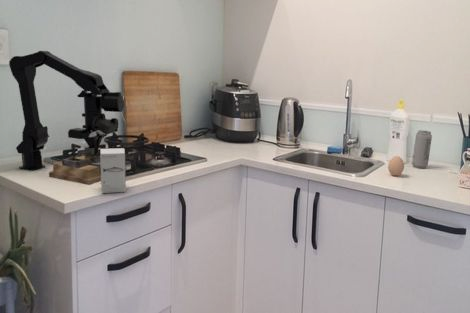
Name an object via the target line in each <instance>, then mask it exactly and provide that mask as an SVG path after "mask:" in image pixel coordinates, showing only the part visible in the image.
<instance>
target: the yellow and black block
mask: <svg viewBox="0 0 470 313" xmlns="http://www.w3.org/2000/svg"><path fill="white" fill-rule="evenodd" d="M83 150H84V154H85V155H84V156H81V157H80V156H77V158H74V161H80V160H84V159H89V163H92V162H93V157H95V150H94V148H93V147H89V146H86V147H85V146H84V149H83Z"/></svg>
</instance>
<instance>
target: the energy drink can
mask: <svg viewBox="0 0 470 313" xmlns="http://www.w3.org/2000/svg"><path fill="white" fill-rule="evenodd" d="M432 138H433V135H432V133H431V131H430V130H422V129H420V130H417V132H416V134H415V140H414V144H413V154H412V161H411V165H412V167H413V168H415V169H416V168H417V169H427V167H428V166H429V161H430V153H431V152H430V151H431V146H432Z"/></svg>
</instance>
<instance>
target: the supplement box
mask: <svg viewBox="0 0 470 313" xmlns="http://www.w3.org/2000/svg"><path fill="white" fill-rule="evenodd" d="M99 149H100V150H99V151H100V152H99V153H100V164H101V181H100V185H101V186H100V189H101V190H100V191H101V194H107V193H108V194H109V193H126V190H127V187H126V186H127V185H126V152H125V150H126V149H125V148H124V147H123V148H99Z"/></svg>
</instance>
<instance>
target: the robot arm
mask: <svg viewBox="0 0 470 313" xmlns="http://www.w3.org/2000/svg"><path fill="white" fill-rule="evenodd" d="M8 63H9V69H10V72H11V75H12V77H13V78H14V80H16V82H17V84H18V90H19V95H20V102H21V108H22V114H23V120H24V126H23V128H22V132H21V133H22V140H21V141H20V142H19V143H18V145H17V146H16V148H15V149H16V151H17V153H18V154H21V162H22V164H21V165H20V166H18V168H19V169H22V170H27V171H34V170H38V169H42V168H45V167H46V164H43V157H42V151H41V150H44V148H45V145H46V144H47V143H48V141H49V138H50V135H49V133H48V126H43V124H42V122H41V121H40V114H39V109H38V108H39V107H38V102H37V96H36V89H35V84H34V82H35V78H36V75H37V68H39V67H40V68H41V67H42V66H46V67H49V68H51V69H52V70H54V71H56V72H58V73H60V74H62V75H64V76H65V77H68V78H69V79H71V80H72V81H73V82H74V83H75V84H76V85H77V86H78V87H79V88H81V89H82V90H81V91H80V93H78V95H77V98H83V107H84V108H83V109H84V112H83V113H81V117H84V124H82V127H74V128H70V129H69V130H68V131H67V137H68V138H69V139H77V140H84V141H85V142H86V145H87V147H93V148H94V150H95V155H96V154H97V155H98V152H99V149H100V145H101V143H102V140H103V139H104V138H105V137H107V136H108V135H110V134H114V133H116V132H119V119H117V118H116V117H112V118H111V119H109V118H106V114H105V113H104V112H111V113H112V112H113V113H115V112H116V113H122V112H123V111H124V109H125V101H124V97H123V95H122V92H121V91H116V92H114V91H113V92H112V91H110V89H108V88H107V86H106V84H105V83H104V80H103V77H102V76H101V75H100V74H98V73H96V72H92V71H88V70H86V69H85V70H84V69H82V68H78V67H77V66H75V65H74V64H72V63H70V62H68V61H66V60H64V59H63V58H60V57H58V56H56V55H54V54H53V53H51V52H50V51H48V50H39V51H37V52H34V53H31V54H26V55H16V56H12V57H11V59H10V60H9V62H8ZM102 110H103V111H104V112H103V111H102Z"/></svg>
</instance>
